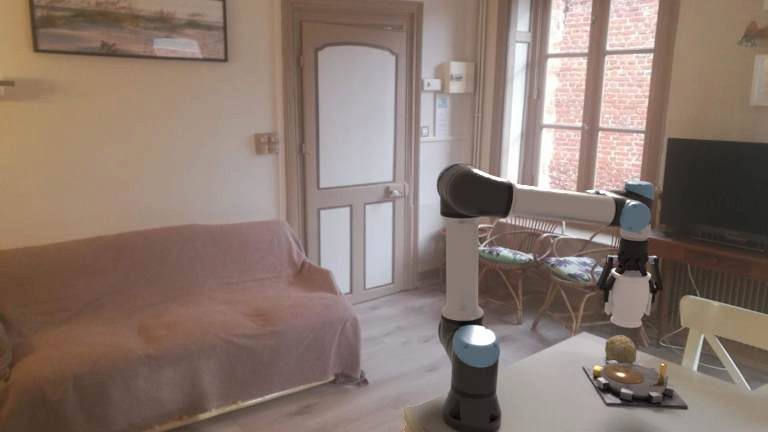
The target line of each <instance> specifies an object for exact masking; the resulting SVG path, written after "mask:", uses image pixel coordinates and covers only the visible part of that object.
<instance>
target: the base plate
mask: <svg viewBox="0 0 768 432" xmlns="http://www.w3.org/2000/svg"><path fill="white" fill-rule="evenodd" d="M595 366H596V365H582V369H584V370H583V372H584V373H585V374H586V376H587V377H588V379H589V380H590V382H591V384H592V385H593V386H594V388H595V390H596V391H597V392H598V394H599V397H600V398H601V399H602V401H603V402H604V403H605V406H614V407H615V406H616V407H617V406H618V407H640V408H641V407H645V408H649V407H650V408H668V409H669V408H670V409H671V408H674V409H688V408H689V405H688V404H687V403H686V402H685V401H684V400H683V398H682V397H681V396H680V395H679V394H678V393H677V391H675V390H674V391H673V395H672V396H670V395H666V394H664V395H663V397H662V402H656V403H652V402H651V401H649V400H648V399H636V398H632V401H630V400H626V399H623V398H620V394H618V393H615V392H613V391H611V390H610V389H601V388H600V387H599V386H598V385H596V383H597V378H599V377H597V376H593V369H594V367H595ZM599 366H600V367H603V366H604V365H599ZM647 368H648V369H651V370H653V371H655V372H658V371H657V369H656V368H655V367H654V368H653V367H647Z"/></svg>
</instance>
